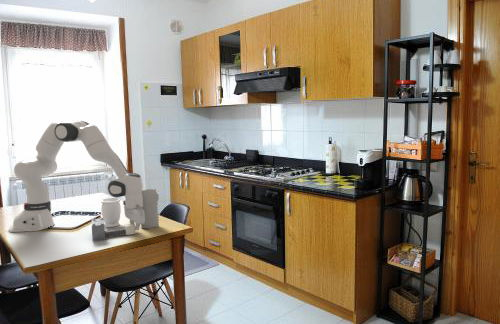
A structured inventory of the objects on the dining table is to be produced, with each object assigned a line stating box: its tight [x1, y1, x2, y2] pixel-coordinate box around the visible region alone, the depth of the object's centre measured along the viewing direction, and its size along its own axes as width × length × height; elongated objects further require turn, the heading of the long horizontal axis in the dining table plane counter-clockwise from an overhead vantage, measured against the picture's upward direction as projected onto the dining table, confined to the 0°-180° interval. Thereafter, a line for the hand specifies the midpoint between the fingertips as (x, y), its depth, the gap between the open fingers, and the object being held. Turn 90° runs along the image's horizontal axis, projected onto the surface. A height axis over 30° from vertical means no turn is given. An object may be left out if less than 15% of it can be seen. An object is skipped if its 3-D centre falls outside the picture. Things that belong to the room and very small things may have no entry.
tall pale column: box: [140, 188, 160, 230], centre depth 218 cm, size 11×4×22 cm, turn 116°
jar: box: [100, 197, 122, 228], centre depth 222 cm, size 11×10×15 cm
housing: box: [91, 217, 106, 242], centre depth 202 cm, size 6×13×9 cm, turn 21°
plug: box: [105, 222, 137, 239], centre depth 205 cm, size 19×4×4 cm, turn 117°
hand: (135, 228), depth 209 cm, fingers closed on plug, 5 cm apart
